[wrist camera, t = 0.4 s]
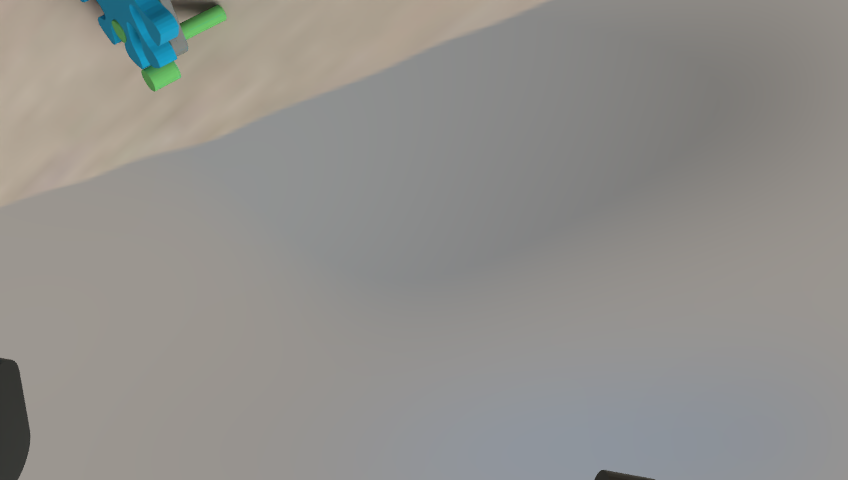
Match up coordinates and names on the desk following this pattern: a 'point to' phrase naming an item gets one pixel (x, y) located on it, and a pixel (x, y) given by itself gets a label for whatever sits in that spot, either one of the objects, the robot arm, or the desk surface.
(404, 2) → the desk surface
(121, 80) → the desk surface
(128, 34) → the gear
